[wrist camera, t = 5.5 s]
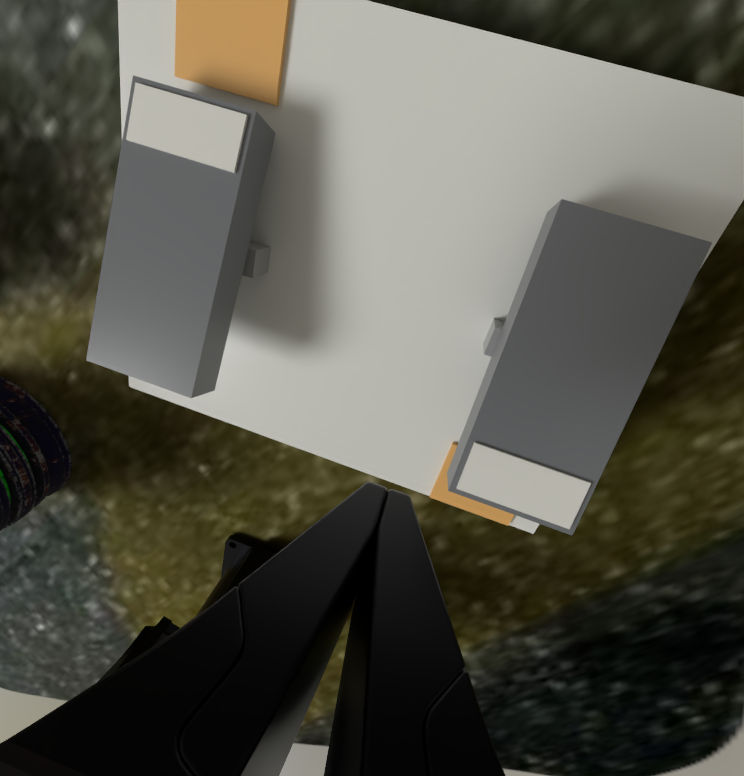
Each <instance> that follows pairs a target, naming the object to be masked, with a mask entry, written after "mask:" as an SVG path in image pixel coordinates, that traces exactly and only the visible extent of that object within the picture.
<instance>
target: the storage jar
mask: <svg viewBox="0 0 744 776" xmlns="http://www.w3.org/2000/svg"><path fill="white" fill-rule="evenodd" d="M71 465H72V463H71V455H70V451H69V448H68V445H67V443H66V440H65V438H64V436H63V434H62V432H61V430H60V429H59V427H58V425H57V424H56V422H55V421H54V420H53V418H52V417H51V416H50V414H49V413H48V412H47V411H46V410H45V409H44V408H43V406H42V405H41V404H40V403H39V402H37V401H36V400H35V399H34V398H33V397H32V396H31V395H30V394H28V393H27V392H26V391H24V390H23V389H22V388H20V387H19V386H17V385H16V384H14V383H12V382H10V381H8V380H6V379H4V378H2V377H0V531H1V530H2V529H4V528H7V527H9V526H11V525H12V524H14V523H15V522H17V521H18V520H19V519H21V518H22V517H24V516H25V515H26V514H28V513H29V512H30V511H31V510H32V508H33V507H35V506H36V505H38V504H39V503H40V502H41V501H42V500H43V499H44V498H45V496H49V495H51V494H53V493H55V492H56V491H58V490H59V489H60V488H62V487H63V486H64V485H65V484H66V483H67V481H68V479H69V477H70V473H71Z"/></svg>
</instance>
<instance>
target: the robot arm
mask: <svg viewBox="0 0 744 776" xmlns="http://www.w3.org/2000/svg"><path fill="white" fill-rule="evenodd" d="M386 494H387V495H386ZM384 501H385V502H384ZM365 564H366V565H365ZM362 574H363V575H362ZM361 577H362V578H361ZM360 581H361V582H360ZM359 584H360V585H359ZM358 587H359V588H358ZM357 591H358V592H357ZM356 594H357V595H356ZM355 597H356V599H355ZM354 600H355V603H354ZM353 603H354V607H353V612H352V617H351V622H350V628H349V634H348V640H347V646H346V651H345V657H344V663H343V669H342V674H341V680H340V686H339V692H338V697H337V703H336V709H335V715H334V721H333V726H332V732H331V738H330V744H329V750H328V755H327V761H326V767H325V773H324V776H505V774H504V771H503V769H502V766H501V764H500V762H499V759H498V757H497V754H496V752H495V749H494V747H493V744H492V741H491V738H490V736H489V733H488V730H487V727H486V724H485V722H484V719H483V716H482V713H481V710H480V708H479V705H478V702H477V699H476V696H475V693H474V690H473V687H472V684H471V680H470V677H469V674H468V672H466V671H464V670H465V668H466V666H465V663H464V660H463V657H462V654H461V651H460V648H459V645H458V641H457V638H456V635H455V632H454V629H453V626H452V623H451V620H450V617H449V614H448V611H447V608H446V605H445V602H444V599H443V596H442V593H441V590H440V587H439V584H438V581H437V577H436V574H435V571H434V568H433V565H432V562H431V559H430V556H429V553H428V550H427V547H426V544H425V541H424V538H423V535H422V532H421V529H420V526H419V523H418V520H417V516H416V513H415V510H414V507H413V504H412V501H411V498H410V496H409V495H408V494H405V493H402V492H399V491H396V490H393V489H390V490H388V492H387V488H386V487H384V486H381V485H378V484H375V483H372V482H367V483H365V484H364V485H362V486H361V487H360V488H359V489H357V490H356V491H355V492H354V493H352V494H351V495H350V496H349V497H347V498H346V499H345V500H344V501H342V502H341V503H340V504H339V505H337V506H336V507H335V508H334V509H332V510H331V511H330V512H328V513H327V514H326V515H325V516H323V517H322V518H321V519H320V520H318V521H317V522H316V523H315V524H313V525H312V526H311V527H310V528H308V529H307V530H306V531H305V532H303V533H302V534H301V535H300V536H298V537H297V538H296V539H294V540H293V541H292V542H291V543H289V544H288V545H287V546H286V547H284V548H283V549H282V550H281V551H279V552H278V551H275V550H273V549H270V548H268V547H265V546H263V545H260V544H257V543H255V542H252V541H250V540H247V539H245V538H242V537H239V536H237V535H231V536H229V538H228V539H227V540H226V543H225V551H224V559H223V567H222V575H221V579H220V581H219V582H218V584H217V585H216V587H215V588H214V590H213V591H212V593H211V594H210V596H209V597H208V599H207V600H206V602H205V603H204V605H203V606H202V608H201V609H200V611H199V612H198V614H197V615H196V617H195V618H194V619H192V620H191V621H189V622H188V623H187V624H185V625H184V626H183V627H181V628H180V627H178V626H176V625H174V624H173V623H172V621H171V620H170V619H168V618H166V617H165V616H164V617H163V618H162V619H161V620H160V622H159V623H158V624H157V625H156V626H145V627H144V629H143V630H142V631H141V633H140V634H139V635H138V637H137V638H136V639H135V640H134V642H133V643H132V644H131V646H130V647H129V648H128V649H127V651H126V652H125V653H124V654H123V655H122V657H121V658H120V659H119V660H118V661H117V662H116V663H115V664H114V665H113V666H112V667H111V668H110V669H109V671H108V672H107V673H106V674H105V675H104V676H103V677H102V678H101V679H100V680H99V681H98V682H97V683H96V684H94V685H93V686H91V687H89V688H88V689H86V690H85V691H83V692H82V693H80V694H79V695H77V696H75V697H74V698H72V699H71V700H69V701H68V702H66V703H65V704H63V705H62V706H60V707H58V708H57V709H55V710H53V711H52V712H50V713H49V714H47V715H46V716H44V717H43V718H41V719H39V720H38V721H36V722H35V723H33V724H32V725H30V726H28V727H27V728H25V729H24V730H22V731H20V732H19V733H17V734H16V735H14V736H12V737H11V738H9V739H8V740H6V741H4V742H2V743H1V744H0V776H279V774H280V772H281V770H282V767H283V765H284V763H285V761H286V758H287V756H288V754H289V751H290V749H291V747H292V744H293V742H294V740H295V738H296V735H297V733H298V731H299V728H300V726H301V724H302V722H303V719H304V717H305V715H306V712H307V710H308V708H309V705H310V703H311V701H312V699H313V696H314V694H315V692H316V689H317V687H318V685H319V682H320V680H321V678H322V676H323V673H324V671H325V669H326V666H327V664H328V662H329V659H330V657H331V655H332V653H333V650H334V648H335V646H336V643H337V641H338V639H339V636H340V634H341V632H342V630H343V627H344V625H345V623H346V620H347V618H348V616H349V613H350V611H351V608H352V606H353Z"/></svg>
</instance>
